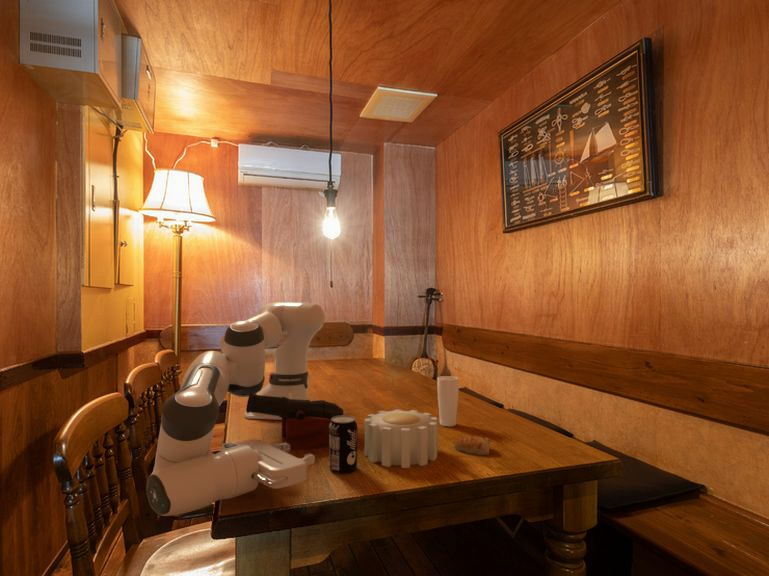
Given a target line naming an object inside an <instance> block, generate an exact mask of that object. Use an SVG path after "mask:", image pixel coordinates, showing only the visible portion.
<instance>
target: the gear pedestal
mask: <svg viewBox="0 0 769 576" xmlns="http://www.w3.org/2000/svg"><path fill="white" fill-rule="evenodd" d="M438 429H439V427H438V418H437V416H432V413H429V412H423V413H421V412H419V411H418V410H413V409H411V410H408V411H407V410H406V411H405V410H401V409H393V410H391V411H389V410H388V411H386V410H379V411H377V414H373V413H370V414H368V415H366V418H364V456H365V457H366V456H367V457H368V459H367V460H368V461H369V462H371V463H377V462H378V463H381V466H382V467H387V468H390V467H391V466H400V467H401V469H407V468H409V469H410V468H411V466H414V465H418V466H420V467H423V466H426V465H428V461H434V462H435V461H436V460H437V458H438V450H439V449H438V444H439V443H438V438H439V436H438V431H439V430H438Z"/></svg>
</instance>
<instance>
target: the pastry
mask: <svg viewBox="0 0 769 576" xmlns="http://www.w3.org/2000/svg"><path fill="white" fill-rule="evenodd" d="M453 446H454V449H456V451H458V452H463V453H466V454H471V455H480V456H488V455H489V454H490V449H491V446H490V441H489V437H487V436H486V437H481V436H473V437H467V438H466V437H464V438H461V439H457V440H456V441H455V442H454V443H453Z"/></svg>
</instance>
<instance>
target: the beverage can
mask: <svg viewBox="0 0 769 576" xmlns="http://www.w3.org/2000/svg"><path fill="white" fill-rule="evenodd" d="M331 420H332V421H331V423H330V431H329V446H328V449H329V450H328V452H329V455H328V457H329V458H328V460H329V465H328V466H329V468H330V470H331V471H332V472H333V473H336V474H349V473H351V472H353V471H354V470H356V468H357V467H358V423H357V422H356V417H355V416H353V415H348V414H343V415H341V416H335V417H333V418H332V419H331Z"/></svg>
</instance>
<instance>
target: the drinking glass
mask: <svg viewBox="0 0 769 576" xmlns="http://www.w3.org/2000/svg"><path fill="white" fill-rule="evenodd" d="M436 388H437V390H436V391H437V404H438V413H439V414H438V416H439V417H438V418H439V425H440V426H442V427H446V426H447V428H449V427H451V428H452V427H455V426H456V425H457V413H458V402H459V392H460V391H459V378H458V376H451V375H441V376H440V375H439V376H438V377H437V385H436Z"/></svg>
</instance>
